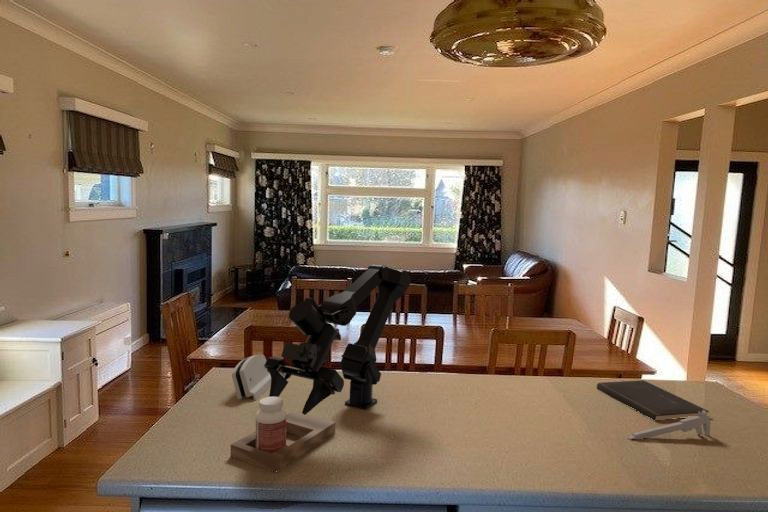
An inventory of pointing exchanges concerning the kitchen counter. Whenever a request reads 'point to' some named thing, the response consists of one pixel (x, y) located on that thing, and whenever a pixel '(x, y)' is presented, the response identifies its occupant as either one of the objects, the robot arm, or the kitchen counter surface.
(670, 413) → the hardcover book
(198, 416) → the kitchen counter surface
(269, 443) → the pill bottle
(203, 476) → the kitchen counter surface
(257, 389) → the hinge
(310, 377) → the robot arm
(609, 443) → the kitchen counter surface
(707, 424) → the caliper
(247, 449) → the wooden rectangular frame
